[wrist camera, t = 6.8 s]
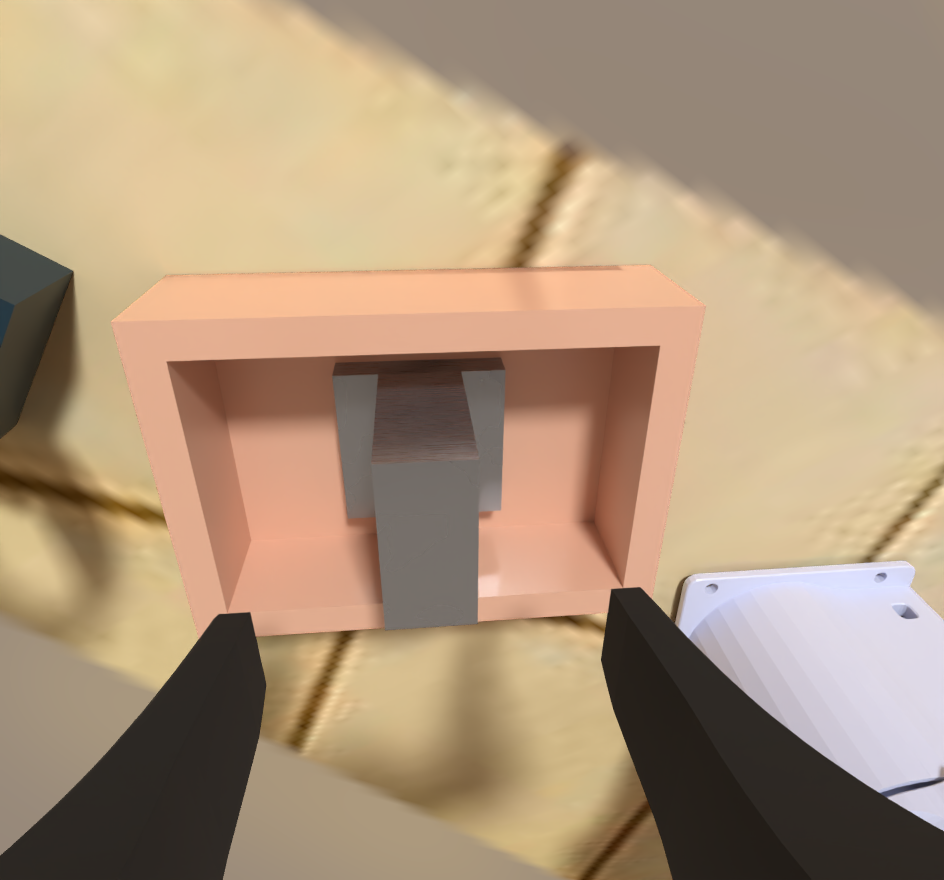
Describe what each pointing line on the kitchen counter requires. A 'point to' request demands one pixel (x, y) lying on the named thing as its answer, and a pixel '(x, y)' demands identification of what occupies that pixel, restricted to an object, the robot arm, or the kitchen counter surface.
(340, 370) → the grey metal t-piece
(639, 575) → the salmon pink open box
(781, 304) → the kitchen counter surface
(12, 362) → the watch
